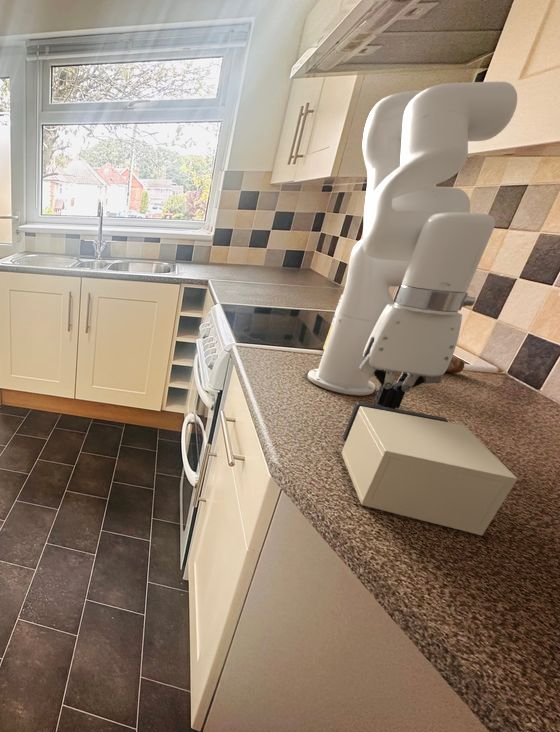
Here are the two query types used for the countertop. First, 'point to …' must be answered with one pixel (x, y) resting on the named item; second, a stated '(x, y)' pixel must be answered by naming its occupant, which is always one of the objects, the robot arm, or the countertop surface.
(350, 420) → the black picture frame
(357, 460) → the cream box with lid
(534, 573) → the countertop surface
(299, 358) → the countertop surface
